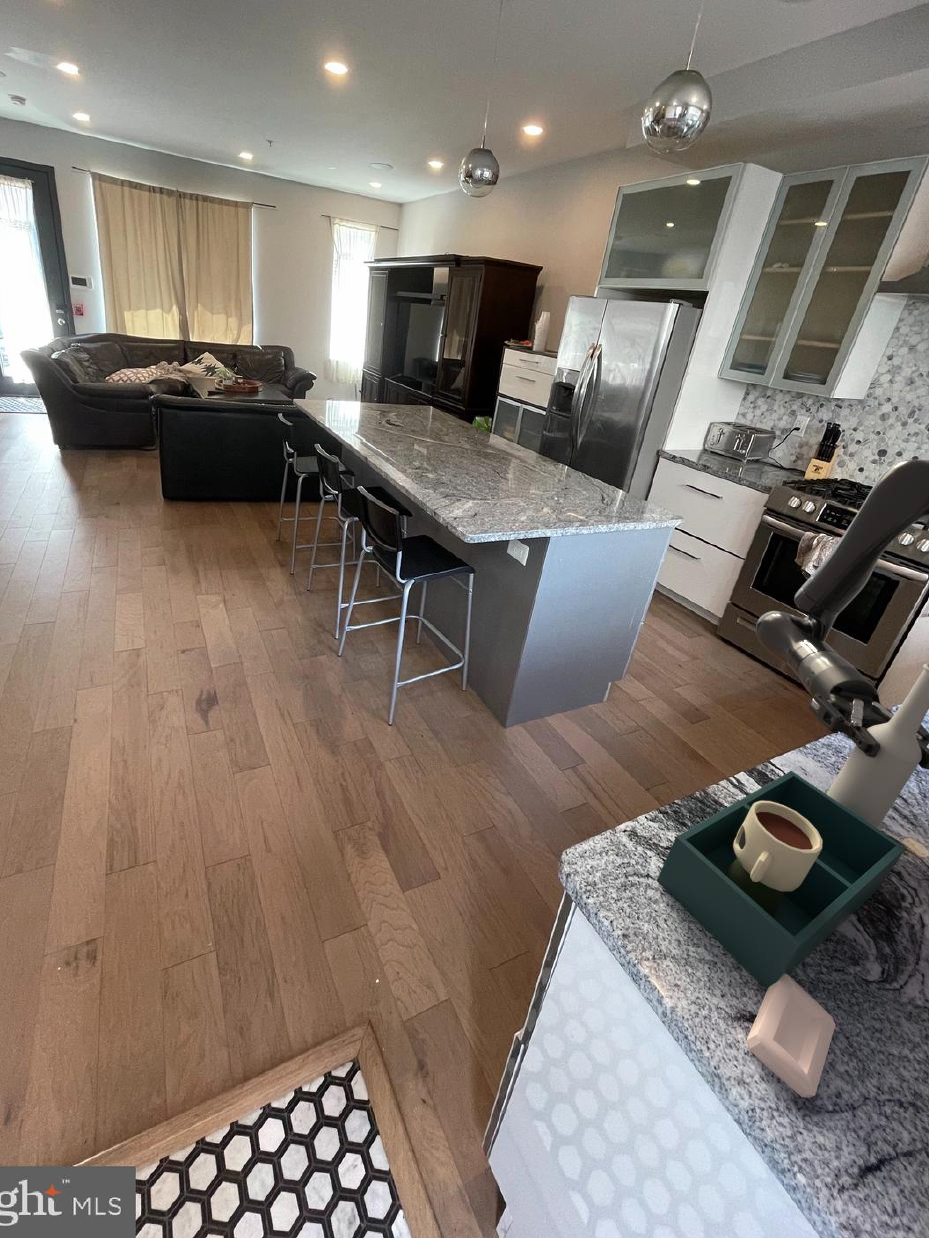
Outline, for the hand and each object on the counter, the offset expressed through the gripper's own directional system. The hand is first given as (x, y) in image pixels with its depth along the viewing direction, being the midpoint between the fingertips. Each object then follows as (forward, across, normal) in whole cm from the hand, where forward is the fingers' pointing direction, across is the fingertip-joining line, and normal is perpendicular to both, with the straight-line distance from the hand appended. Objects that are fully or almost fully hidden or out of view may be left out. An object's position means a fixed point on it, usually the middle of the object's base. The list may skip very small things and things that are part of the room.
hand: (902, 758), depth 72 cm
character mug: (+15, -20, +15) cm, 30 cm away
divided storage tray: (+11, -15, +16) cm, 24 cm away
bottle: (-2, 0, +16) cm, 16 cm away
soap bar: (+29, -21, +16) cm, 39 cm away
